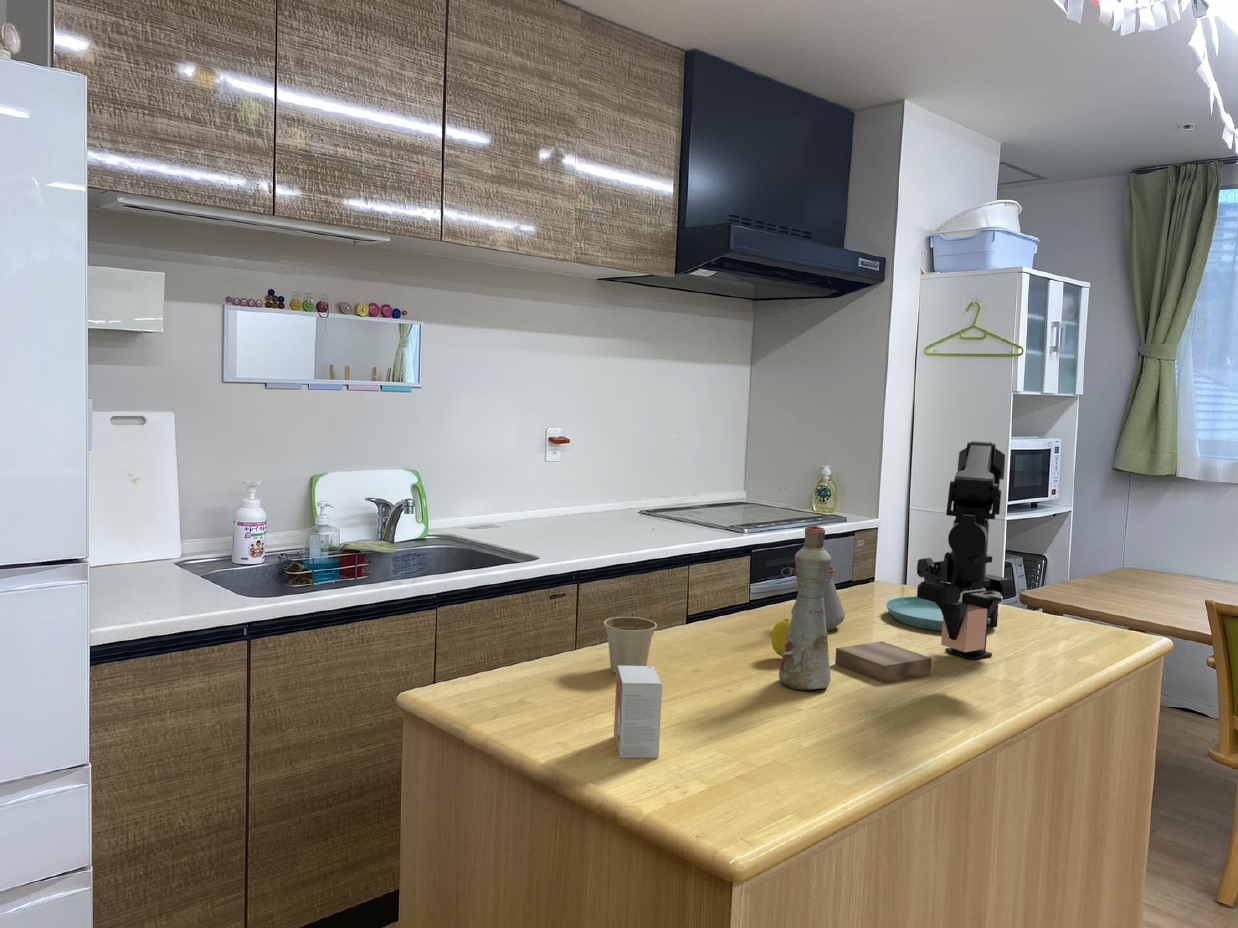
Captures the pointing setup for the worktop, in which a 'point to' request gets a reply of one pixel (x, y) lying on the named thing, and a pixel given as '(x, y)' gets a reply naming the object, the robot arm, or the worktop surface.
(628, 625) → the flower pot
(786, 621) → the lemon
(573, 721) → the worktop surface
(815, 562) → the bottle
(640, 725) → the small box
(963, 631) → the terracotta block
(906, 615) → the saucer
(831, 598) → the coffee pot
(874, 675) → the walnut base
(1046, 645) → the worktop surface
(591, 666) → the worktop surface
